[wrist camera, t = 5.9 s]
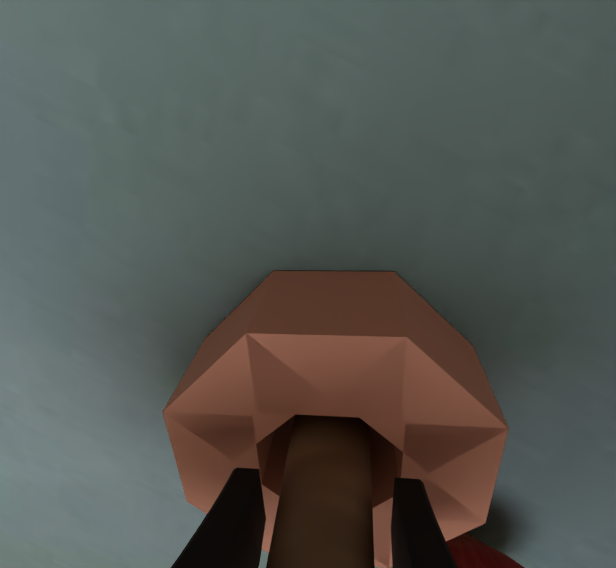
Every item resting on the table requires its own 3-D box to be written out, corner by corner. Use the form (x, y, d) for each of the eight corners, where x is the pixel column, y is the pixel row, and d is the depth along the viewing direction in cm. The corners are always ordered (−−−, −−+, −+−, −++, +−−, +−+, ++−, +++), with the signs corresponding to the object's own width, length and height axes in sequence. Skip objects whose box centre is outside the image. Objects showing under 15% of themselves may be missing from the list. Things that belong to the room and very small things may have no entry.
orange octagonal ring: (485, 272, 12) (530, 340, 9) (450, 479, 16) (473, 575, 13) (192, 270, 13) (140, 330, 10) (228, 465, 17) (200, 551, 14)
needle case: (370, 357, 14) (384, 651, 7) (368, 412, 15) (378, 713, 8) (297, 354, 14) (238, 634, 7) (301, 409, 15) (252, 696, 8)
